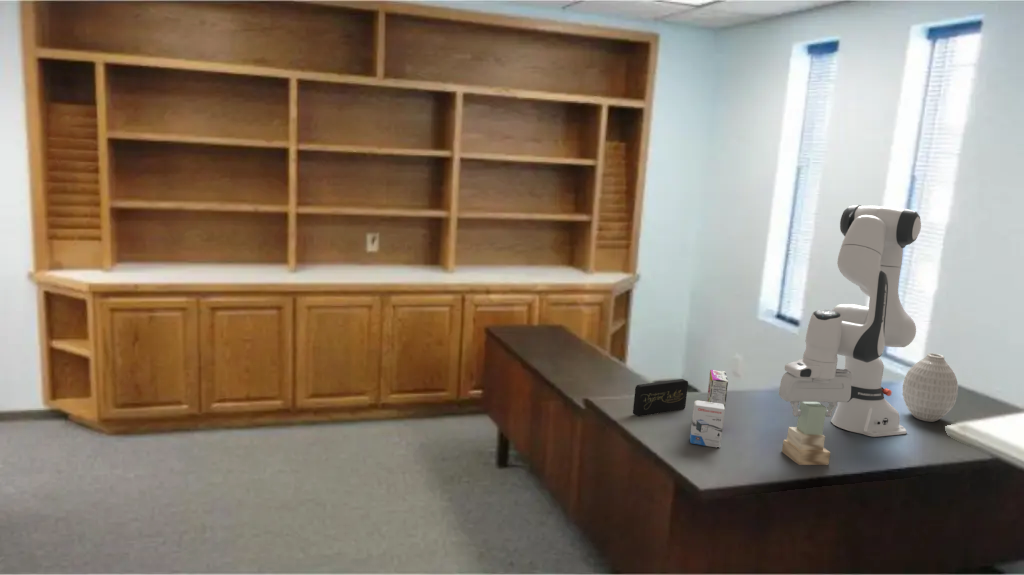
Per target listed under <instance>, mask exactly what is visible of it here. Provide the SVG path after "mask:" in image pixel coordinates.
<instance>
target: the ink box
mask: <svg viewBox="0 0 1024 575" xmlns="http://www.w3.org/2000/svg"><path fill="white" fill-rule="evenodd" d="M692 410H693V411H692V417H691V420H692V421H691V427H690V433H689V443H690V444H692V445H699V446H705V447H713V448H717V447H719V448H721V445H722V444H721V443H722V437H723V430H724V420H725V412H726V405H725V406H724V405H723V404H720V403H713V402H707V400H705V401H704V400H699V399H698V400H694V402H693V409H692ZM719 448H718V449H719Z"/></svg>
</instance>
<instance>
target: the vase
mask: <svg viewBox="0 0 1024 575" xmlns="http://www.w3.org/2000/svg"><path fill="white" fill-rule="evenodd" d="M958 394H959V383H958V379H957V376H956V373H955V372H954V370H953V369H952V368H951V366H950V365H949V363H948V362H946V360H945V356H944V355H942V354H939V353H934V352H933V353H927V354H926V356H925V357H924V358H922V359H921V360H919V361H917V362H916V363H914V364H913V365H912V366H911V367H910V368H909V370H908V371H907V372H906V374H905V377H904V380H903V381H902V396H903V401H904V403H905V406H906V407H907V409H908V411H909V412H910V413H911V415H912V416H913V418H916V419H917V420H919V421H923V422H930V423H931V422H933V423H934V422H937V421H939V420H940V419H942V418H943V417H945V416H946V415H947V414H948V413H949V412H950V411H951V410H952V409H953V407H954V406H955V404H956V402H957V399H958Z"/></svg>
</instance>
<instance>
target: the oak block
mask: <svg viewBox="0 0 1024 575" xmlns="http://www.w3.org/2000/svg"><path fill="white" fill-rule="evenodd" d="M781 452H782V453H783V454H784V455H786V456H787V457H788V458H789V459H791V461H793V462H794V463H796V464H797V465H798V466H802V465H803V466H806V465H807V466H811V465H813V466H817V465H819V466H821V465H822V466H828V465H829V463H830V457H831V451H829V450H828V449H827V448H825V447H824V448H823V450H799V449H798V448H797V447H795V446H794V445H793V444H791V443H790V442H788V441H787V439H783V441H782V449H781Z"/></svg>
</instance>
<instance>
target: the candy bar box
mask: <svg viewBox="0 0 1024 575" xmlns="http://www.w3.org/2000/svg"><path fill="white" fill-rule="evenodd" d="M709 370H710V371H709V379H708V388H707V397H706V402H713V403H720V404H723V405H724V406H725V407H726V402H727V393H728V385H729V379H728V376H727V372H726V371H725V370H718V369H709Z"/></svg>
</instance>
